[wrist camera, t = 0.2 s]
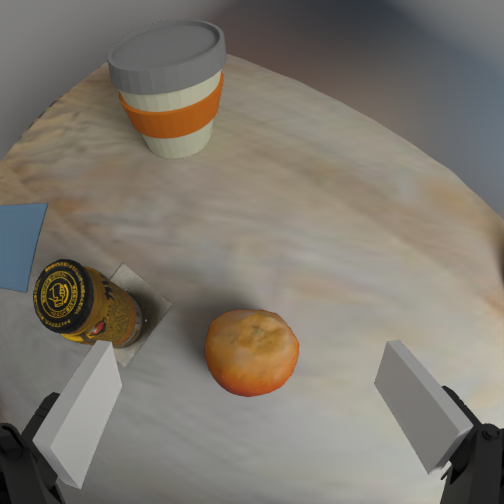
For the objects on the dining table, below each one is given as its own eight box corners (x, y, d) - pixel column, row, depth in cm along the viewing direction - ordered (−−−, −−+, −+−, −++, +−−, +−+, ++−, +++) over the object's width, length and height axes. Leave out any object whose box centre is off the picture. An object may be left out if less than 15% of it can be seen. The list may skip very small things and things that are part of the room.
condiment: (78, 322, 27) (11, 298, 16) (123, 263, 30) (75, 211, 18) (125, 368, 26) (66, 369, 15) (173, 304, 29) (140, 269, 17)
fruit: (188, 395, 24) (193, 355, 19) (213, 333, 30) (224, 282, 26) (271, 421, 24) (302, 388, 19) (284, 355, 30) (311, 310, 25)
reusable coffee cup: (198, 94, 40) (194, 11, 26) (242, 143, 36) (251, 46, 22) (122, 128, 36) (95, 44, 22) (155, 186, 33) (123, 90, 19)
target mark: (26, 292, 27) (25, 291, 27) (-25, 282, 26) (-26, 282, 26) (48, 204, 31) (47, 203, 31) (-5, 206, 30) (-6, 206, 30)
